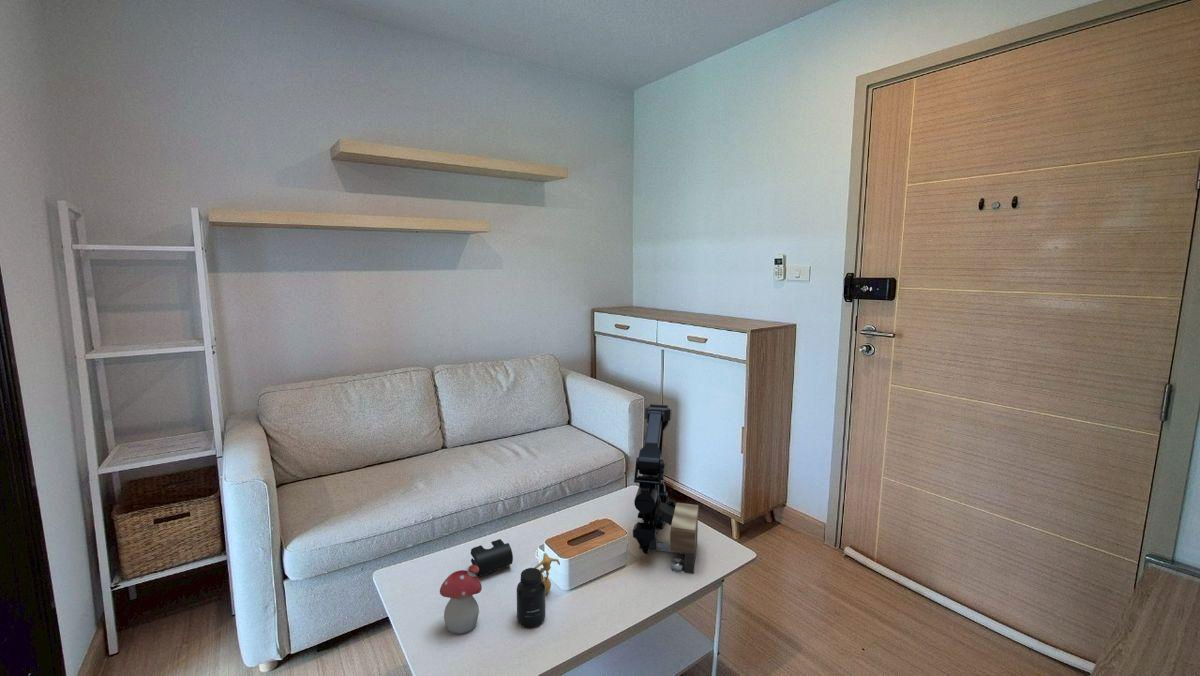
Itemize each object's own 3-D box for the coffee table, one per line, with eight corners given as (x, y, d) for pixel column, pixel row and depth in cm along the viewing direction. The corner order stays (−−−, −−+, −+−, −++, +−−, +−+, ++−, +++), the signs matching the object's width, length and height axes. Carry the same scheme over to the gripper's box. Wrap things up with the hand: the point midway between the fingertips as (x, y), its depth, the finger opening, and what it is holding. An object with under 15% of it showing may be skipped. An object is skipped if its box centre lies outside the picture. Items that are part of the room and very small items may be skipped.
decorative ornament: (486, 616, 121) (483, 560, 119) (477, 637, 115) (475, 577, 112) (448, 615, 122) (445, 558, 119) (438, 635, 115) (434, 576, 113)
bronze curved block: (674, 542, 152) (675, 502, 150) (697, 545, 150) (698, 505, 148) (668, 570, 139) (669, 526, 137) (693, 573, 137) (695, 530, 135)
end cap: (478, 583, 134) (477, 560, 132) (470, 569, 140) (468, 547, 138) (513, 570, 139) (512, 548, 138) (503, 557, 145) (503, 535, 144)
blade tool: (640, 544, 151) (640, 529, 150) (686, 551, 147) (686, 535, 146) (639, 548, 149) (639, 533, 148) (685, 555, 145) (686, 539, 145)
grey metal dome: (671, 564, 142) (672, 557, 141) (684, 565, 141) (684, 559, 141) (670, 571, 138) (670, 565, 138) (683, 573, 137) (683, 567, 137)
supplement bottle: (531, 633, 116) (530, 586, 114) (511, 620, 120) (509, 575, 118) (551, 616, 121) (550, 571, 119) (531, 604, 125) (530, 561, 123)
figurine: (554, 582, 134) (554, 541, 132) (564, 595, 128) (563, 553, 126) (525, 592, 130) (524, 550, 128) (534, 606, 124) (533, 563, 122)
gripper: (673, 515, 135) (671, 567, 138) (680, 484, 153) (678, 531, 156) (632, 510, 138) (632, 561, 141) (644, 480, 156) (643, 527, 159)
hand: (648, 544), depth 149 cm, fingers open, 9 cm apart
